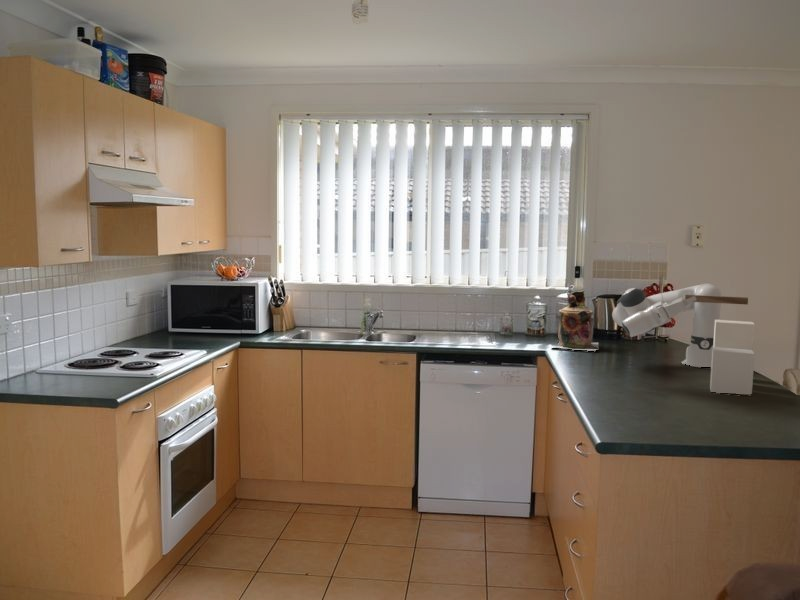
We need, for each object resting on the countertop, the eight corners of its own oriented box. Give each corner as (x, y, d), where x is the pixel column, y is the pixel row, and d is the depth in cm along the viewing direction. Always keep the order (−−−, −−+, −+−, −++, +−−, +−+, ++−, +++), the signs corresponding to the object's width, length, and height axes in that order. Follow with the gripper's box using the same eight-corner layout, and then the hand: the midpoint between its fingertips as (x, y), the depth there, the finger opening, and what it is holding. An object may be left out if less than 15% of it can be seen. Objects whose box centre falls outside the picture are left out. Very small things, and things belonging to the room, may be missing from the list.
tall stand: (710, 380, 277) (714, 319, 274) (748, 383, 271) (752, 321, 269) (711, 384, 267) (716, 322, 265) (750, 388, 262) (754, 324, 260)
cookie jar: (553, 343, 370) (556, 287, 367) (598, 346, 362) (601, 289, 359) (549, 350, 346) (552, 290, 343) (598, 353, 339) (601, 292, 336)
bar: (684, 300, 260) (685, 294, 260) (746, 303, 251) (747, 297, 251) (684, 301, 257) (685, 295, 257) (747, 304, 249) (748, 298, 248)
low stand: (709, 387, 262) (712, 347, 261) (749, 391, 257) (752, 350, 255) (710, 392, 253) (713, 350, 252) (751, 396, 248) (754, 353, 246)
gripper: (666, 317, 271) (698, 302, 266) (665, 322, 253) (700, 306, 247) (659, 303, 272) (691, 288, 267) (657, 307, 253) (692, 291, 248)
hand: (695, 297), depth 257 cm, fingers closed on bar, 3 cm apart
